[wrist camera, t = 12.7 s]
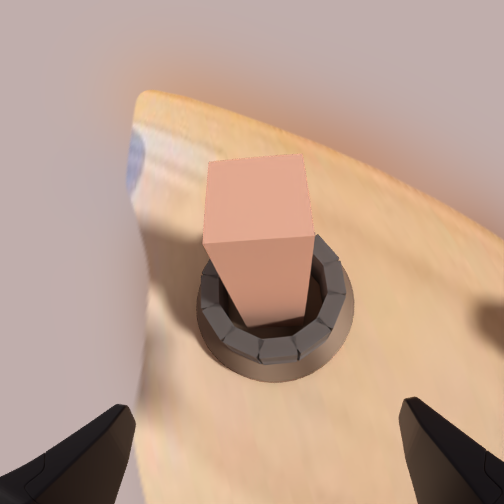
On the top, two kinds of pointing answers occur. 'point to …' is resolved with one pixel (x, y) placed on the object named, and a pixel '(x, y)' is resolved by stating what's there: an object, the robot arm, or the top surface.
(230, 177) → the terracotta peg
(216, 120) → the top surface
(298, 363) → the socket
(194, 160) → the top surface
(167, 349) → the top surface
